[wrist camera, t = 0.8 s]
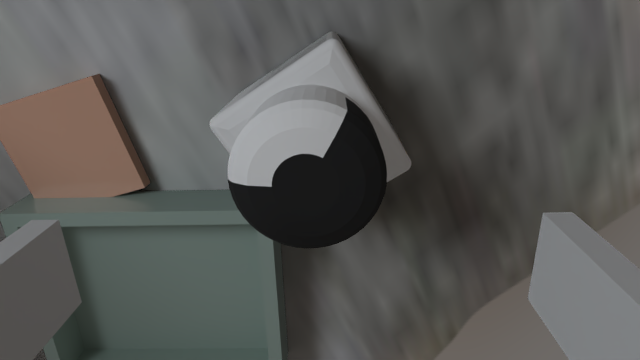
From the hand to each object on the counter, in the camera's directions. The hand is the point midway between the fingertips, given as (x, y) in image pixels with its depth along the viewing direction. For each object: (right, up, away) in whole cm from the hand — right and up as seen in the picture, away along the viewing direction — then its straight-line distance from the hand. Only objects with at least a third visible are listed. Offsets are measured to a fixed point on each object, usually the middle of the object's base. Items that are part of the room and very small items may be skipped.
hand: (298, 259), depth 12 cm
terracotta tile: (-17, +5, +18) cm, 25 cm away
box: (-11, -6, +22) cm, 26 cm away
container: (0, +7, +17) cm, 19 cm away
